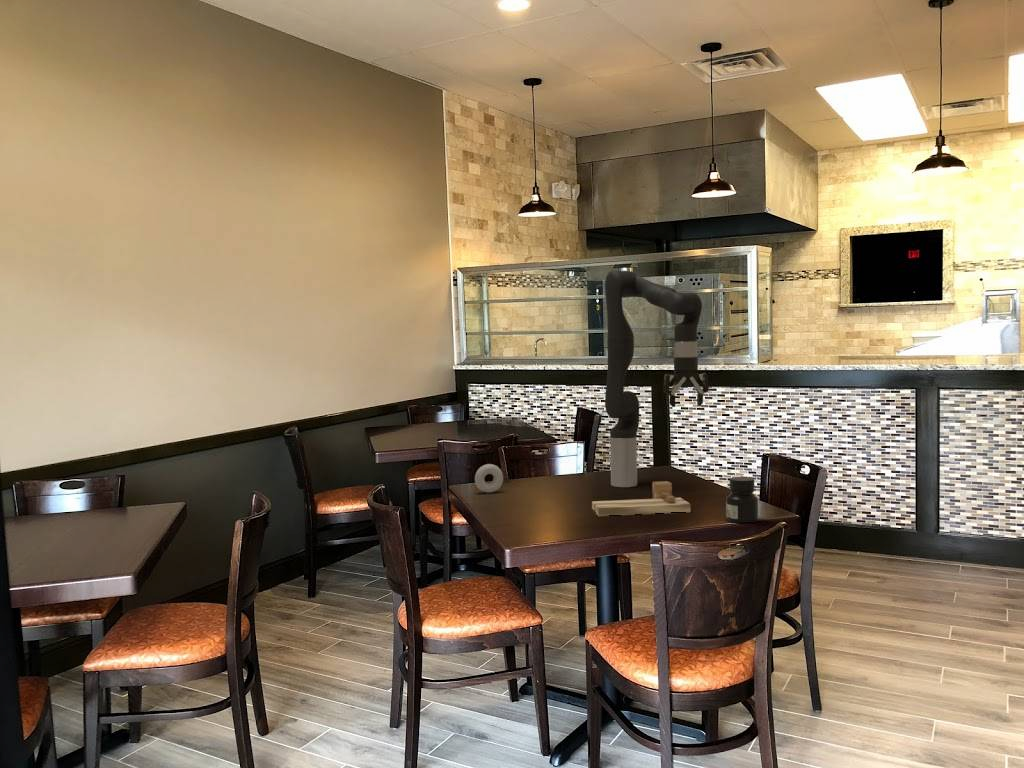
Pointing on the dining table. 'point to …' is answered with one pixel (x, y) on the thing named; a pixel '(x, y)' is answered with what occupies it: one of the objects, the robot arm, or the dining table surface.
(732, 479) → the ink bottle
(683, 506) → the board
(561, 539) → the dining table surface
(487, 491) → the donut
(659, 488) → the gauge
